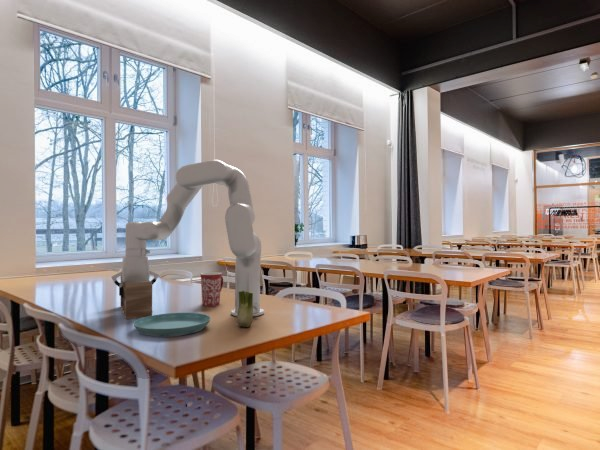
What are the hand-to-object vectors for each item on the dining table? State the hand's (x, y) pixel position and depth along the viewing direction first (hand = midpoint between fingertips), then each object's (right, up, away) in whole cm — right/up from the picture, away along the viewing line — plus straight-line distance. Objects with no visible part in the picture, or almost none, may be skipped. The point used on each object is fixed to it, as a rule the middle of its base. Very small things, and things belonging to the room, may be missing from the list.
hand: (135, 296), depth 162 cm
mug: (+27, -6, +17) cm, 33 cm away
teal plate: (+23, -6, -27) cm, 36 cm away
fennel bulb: (+46, -6, -24) cm, 53 cm away
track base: (0, -6, 0) cm, 6 cm away
